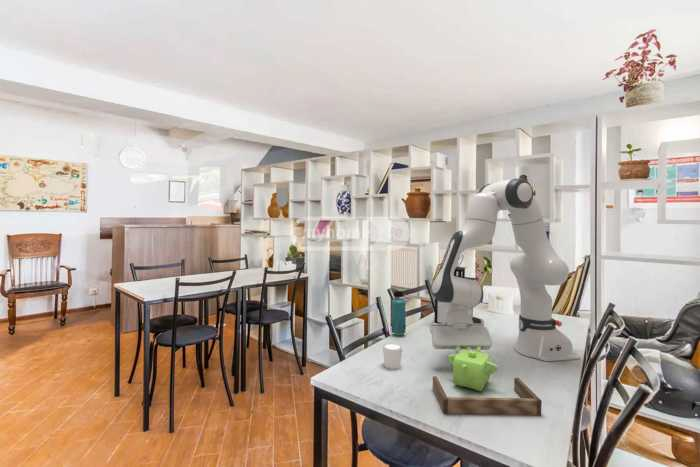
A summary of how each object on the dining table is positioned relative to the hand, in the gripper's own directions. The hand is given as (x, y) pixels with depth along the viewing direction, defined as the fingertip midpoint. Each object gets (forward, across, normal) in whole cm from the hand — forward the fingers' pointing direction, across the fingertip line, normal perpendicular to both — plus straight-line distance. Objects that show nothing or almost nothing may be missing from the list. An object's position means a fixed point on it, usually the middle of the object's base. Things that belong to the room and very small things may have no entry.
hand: (465, 360), depth 122 cm
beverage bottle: (-24, -18, +32) cm, 44 cm away
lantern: (-35, +11, +42) cm, 56 cm away
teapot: (+8, 0, -1) cm, 8 cm away
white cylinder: (-1, -24, +8) cm, 25 cm away
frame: (+16, 0, -9) cm, 18 cm away
